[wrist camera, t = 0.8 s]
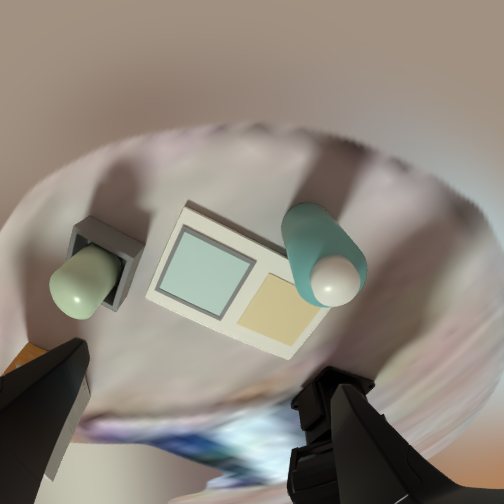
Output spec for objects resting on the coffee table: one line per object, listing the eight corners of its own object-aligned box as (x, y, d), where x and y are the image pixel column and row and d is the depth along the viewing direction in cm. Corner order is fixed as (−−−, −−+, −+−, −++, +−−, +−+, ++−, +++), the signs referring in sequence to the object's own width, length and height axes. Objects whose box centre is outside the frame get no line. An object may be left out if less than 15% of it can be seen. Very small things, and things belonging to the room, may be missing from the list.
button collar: (145, 244, 21) (134, 258, 18) (126, 296, 22) (115, 312, 20) (89, 215, 20) (73, 225, 17) (76, 268, 21) (62, 281, 19)
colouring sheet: (343, 286, 22) (345, 289, 21) (288, 357, 25) (289, 361, 24) (185, 205, 19) (183, 207, 19) (146, 295, 22) (144, 298, 22)
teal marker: (342, 218, 20) (388, 270, 12) (314, 260, 21) (344, 329, 14) (298, 193, 19) (326, 233, 12) (271, 238, 20) (281, 301, 13)
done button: (127, 256, 19) (100, 286, 15) (114, 294, 21) (90, 328, 17) (86, 233, 19) (52, 258, 15) (76, 273, 20) (47, 302, 16)
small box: (83, 362, 26) (32, 458, 14) (91, 397, 28) (54, 484, 16) (27, 339, 25) (-31, 417, 13) (39, 376, 27) (-5, 449, 15)
